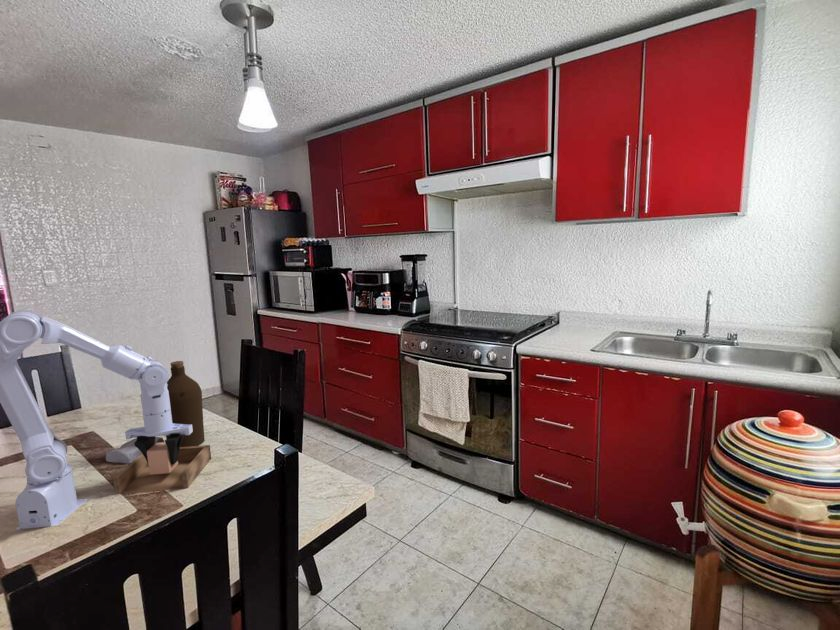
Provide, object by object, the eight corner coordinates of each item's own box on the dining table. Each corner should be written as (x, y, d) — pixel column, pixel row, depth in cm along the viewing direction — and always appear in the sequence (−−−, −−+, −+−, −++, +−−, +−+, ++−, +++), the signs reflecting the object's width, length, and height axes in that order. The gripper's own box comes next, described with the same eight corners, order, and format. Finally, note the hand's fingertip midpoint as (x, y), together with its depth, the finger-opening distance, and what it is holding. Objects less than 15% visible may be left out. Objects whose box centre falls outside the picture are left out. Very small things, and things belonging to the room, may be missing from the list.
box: (188, 490, 96) (186, 472, 96) (115, 496, 95) (112, 478, 94) (211, 460, 110) (209, 445, 110) (148, 465, 109) (146, 449, 108)
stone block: (103, 470, 110) (132, 466, 108) (98, 453, 110) (128, 449, 108) (141, 451, 122) (168, 447, 120) (136, 436, 122) (164, 431, 119)
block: (169, 473, 99) (166, 449, 99) (149, 474, 99) (146, 451, 98) (178, 463, 104) (175, 441, 103) (159, 465, 103) (156, 442, 103)
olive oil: (215, 440, 122) (206, 359, 119) (182, 456, 113) (171, 369, 109) (190, 434, 127) (181, 356, 123) (157, 450, 117) (145, 365, 113)
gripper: (195, 403, 104) (201, 453, 106) (134, 406, 102) (141, 457, 104) (182, 413, 97) (189, 467, 99) (117, 417, 95) (124, 472, 97)
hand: (163, 463), depth 101 cm, fingers closed on block, 4 cm apart
